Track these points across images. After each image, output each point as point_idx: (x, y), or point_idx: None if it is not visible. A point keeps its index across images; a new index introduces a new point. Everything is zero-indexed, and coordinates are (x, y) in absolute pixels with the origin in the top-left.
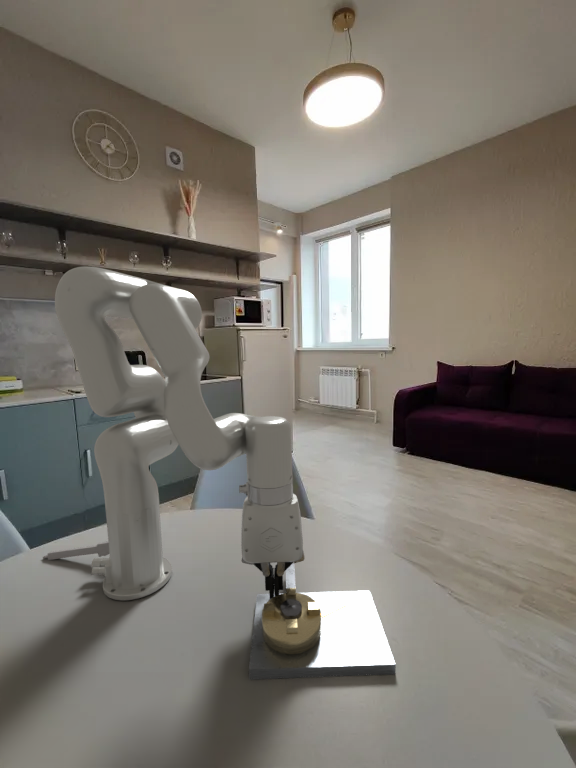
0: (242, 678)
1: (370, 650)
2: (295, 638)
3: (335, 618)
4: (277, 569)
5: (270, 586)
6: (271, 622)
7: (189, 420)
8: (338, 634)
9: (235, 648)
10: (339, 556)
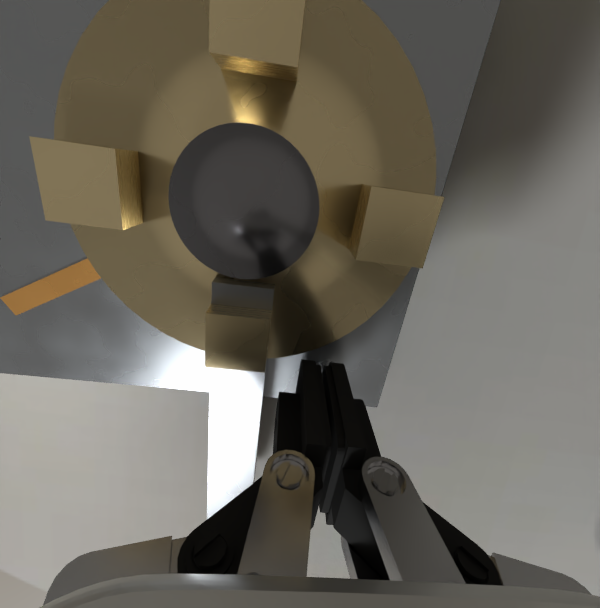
0: (504, 12)
1: None
2: None
3: (51, 230)
4: (310, 497)
5: (348, 403)
6: (389, 134)
7: None
8: (31, 122)
9: (492, 187)
10: (67, 526)
